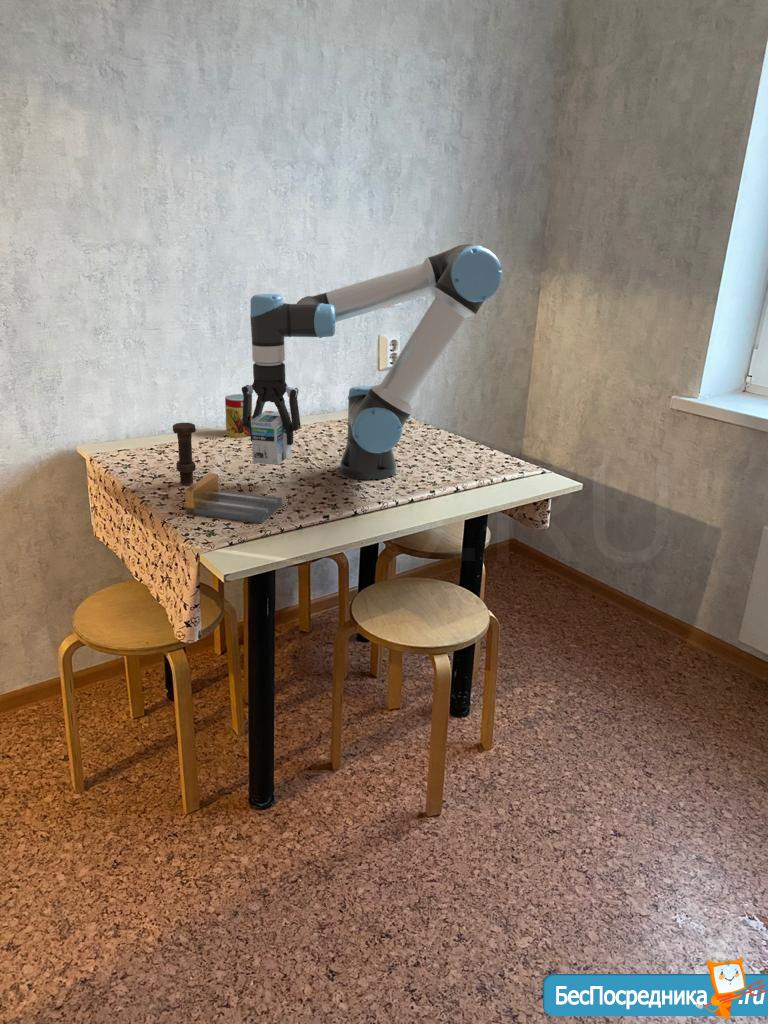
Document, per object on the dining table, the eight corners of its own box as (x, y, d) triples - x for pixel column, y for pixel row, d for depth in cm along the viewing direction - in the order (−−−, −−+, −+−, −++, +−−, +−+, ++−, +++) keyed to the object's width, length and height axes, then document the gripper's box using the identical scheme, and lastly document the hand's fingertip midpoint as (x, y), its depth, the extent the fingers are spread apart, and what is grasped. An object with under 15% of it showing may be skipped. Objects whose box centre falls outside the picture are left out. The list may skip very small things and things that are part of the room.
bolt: (183, 488, 188) (180, 429, 183) (170, 483, 191) (167, 425, 186) (202, 483, 193) (200, 425, 187) (189, 478, 196) (187, 421, 190)
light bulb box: (278, 465, 185) (276, 422, 181) (251, 463, 186) (249, 420, 182) (292, 453, 194) (291, 411, 190) (267, 451, 196) (265, 409, 192)
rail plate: (281, 504, 182) (281, 482, 180) (261, 523, 170) (261, 500, 168) (210, 495, 185) (210, 473, 183) (186, 513, 173) (185, 490, 171)
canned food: (250, 440, 230) (249, 400, 226) (223, 438, 230) (222, 399, 226) (254, 433, 238) (254, 394, 233) (229, 431, 238) (228, 393, 233)
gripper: (313, 362, 183) (315, 454, 191) (236, 357, 187) (241, 448, 195) (303, 367, 176) (305, 463, 184) (223, 362, 180) (229, 457, 188)
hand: (272, 455), depth 190 cm, fingers closed on light bulb box, 7 cm apart
